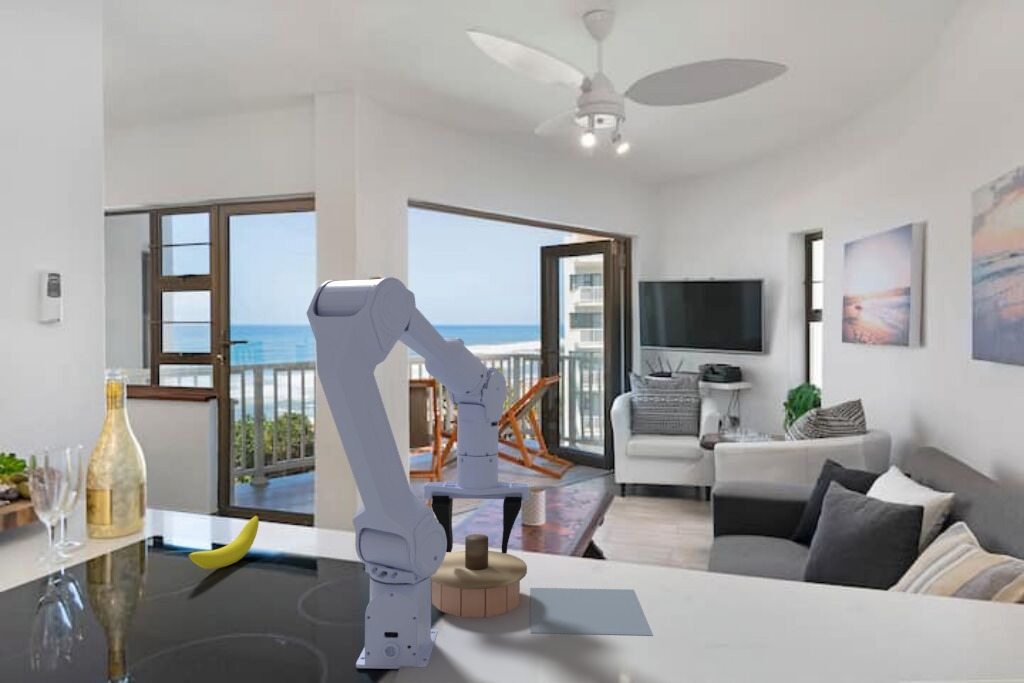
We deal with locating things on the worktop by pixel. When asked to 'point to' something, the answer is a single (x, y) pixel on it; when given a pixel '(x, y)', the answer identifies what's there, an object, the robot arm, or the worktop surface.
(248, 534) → the banana
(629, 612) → the rubber mat
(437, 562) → the robot arm
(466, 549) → the oak lid
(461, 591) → the terracotta bowl
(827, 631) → the worktop surface
